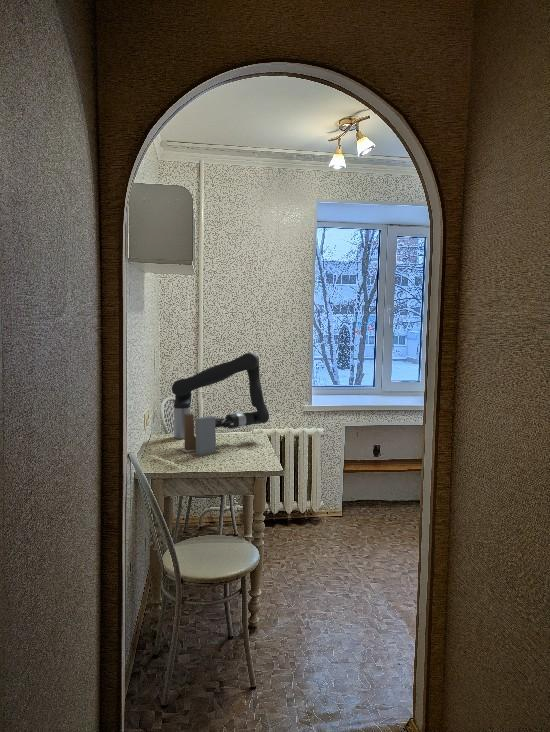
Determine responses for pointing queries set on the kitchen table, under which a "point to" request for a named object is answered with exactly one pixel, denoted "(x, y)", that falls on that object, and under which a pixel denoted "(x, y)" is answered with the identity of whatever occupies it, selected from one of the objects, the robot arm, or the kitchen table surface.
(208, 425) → the slate post
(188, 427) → the wooden block
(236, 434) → the kitchen table surface
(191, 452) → the base board
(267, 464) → the kitchen table surface
